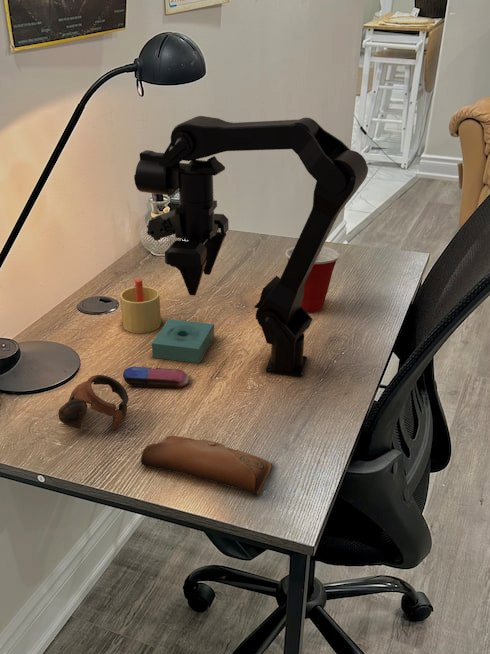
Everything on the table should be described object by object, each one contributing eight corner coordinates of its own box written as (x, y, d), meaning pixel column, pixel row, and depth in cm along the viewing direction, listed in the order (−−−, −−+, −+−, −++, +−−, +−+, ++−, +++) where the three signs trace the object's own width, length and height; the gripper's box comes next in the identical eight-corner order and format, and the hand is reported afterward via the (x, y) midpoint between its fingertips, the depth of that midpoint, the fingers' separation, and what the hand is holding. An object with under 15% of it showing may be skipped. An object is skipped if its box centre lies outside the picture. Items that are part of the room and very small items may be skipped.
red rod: (143, 323, 143) (140, 282, 138) (137, 323, 143) (133, 281, 138) (146, 320, 144) (143, 279, 139) (139, 320, 144) (136, 278, 139)
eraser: (189, 377, 127) (189, 368, 126) (187, 389, 123) (187, 380, 123) (126, 373, 128) (126, 364, 127) (122, 385, 124) (121, 376, 123)
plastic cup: (334, 295, 154) (338, 242, 147) (336, 318, 145) (341, 262, 138) (283, 294, 155) (285, 240, 148) (282, 317, 146) (284, 261, 139)
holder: (199, 363, 131) (198, 349, 129) (152, 357, 133) (151, 343, 131) (214, 337, 139) (213, 323, 137) (169, 332, 141) (169, 318, 139)
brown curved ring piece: (86, 399, 122) (106, 364, 118) (123, 437, 120) (145, 403, 116) (35, 418, 112) (55, 380, 108) (74, 460, 110) (96, 423, 106)
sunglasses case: (275, 460, 106) (269, 442, 100) (261, 504, 103) (254, 488, 97) (164, 434, 112) (152, 416, 106) (149, 476, 109) (135, 459, 103)
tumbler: (153, 335, 140) (151, 304, 136) (117, 330, 142) (114, 300, 138) (166, 317, 146) (164, 288, 142) (131, 313, 148) (128, 284, 144)
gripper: (168, 179, 130) (174, 261, 138) (131, 213, 115) (139, 302, 123) (228, 182, 127) (230, 265, 136) (197, 217, 112) (201, 308, 121)
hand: (200, 284), depth 129 cm, fingers open, 9 cm apart
